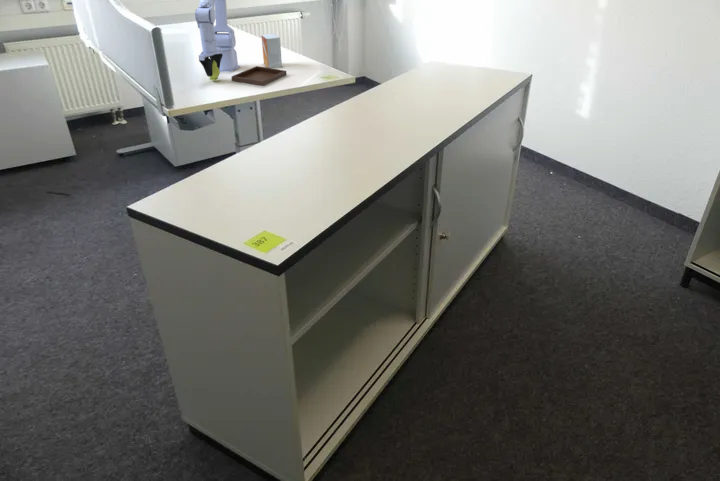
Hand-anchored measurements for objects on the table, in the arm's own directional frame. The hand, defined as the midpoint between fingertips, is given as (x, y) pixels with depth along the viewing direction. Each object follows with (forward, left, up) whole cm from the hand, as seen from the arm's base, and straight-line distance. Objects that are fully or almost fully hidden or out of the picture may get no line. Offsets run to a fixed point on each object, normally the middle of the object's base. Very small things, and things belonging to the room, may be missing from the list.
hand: (213, 74), depth 228 cm
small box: (-30, +13, -4) cm, 33 cm away
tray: (-10, +16, -3) cm, 19 cm away
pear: (0, 0, -2) cm, 2 cm away
